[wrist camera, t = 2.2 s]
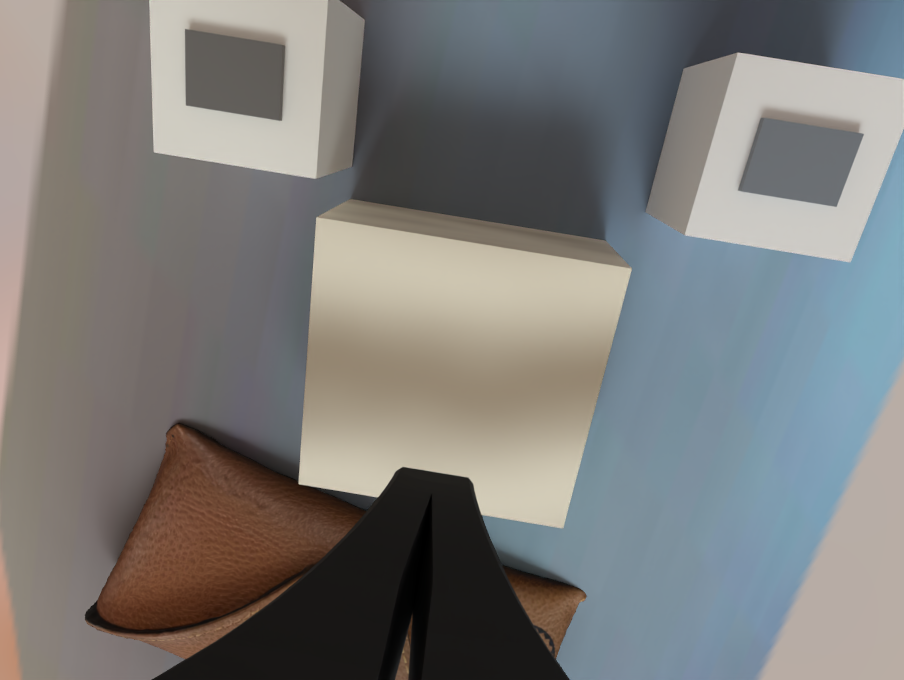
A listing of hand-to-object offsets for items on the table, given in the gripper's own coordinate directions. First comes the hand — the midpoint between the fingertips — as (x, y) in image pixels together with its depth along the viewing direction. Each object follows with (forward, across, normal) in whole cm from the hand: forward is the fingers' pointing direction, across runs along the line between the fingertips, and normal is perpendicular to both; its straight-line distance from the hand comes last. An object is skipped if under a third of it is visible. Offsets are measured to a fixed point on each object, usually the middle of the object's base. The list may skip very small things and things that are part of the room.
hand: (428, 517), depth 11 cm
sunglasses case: (+10, +3, +11) cm, 15 cm away
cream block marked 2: (+10, +6, -7) cm, 13 cm away
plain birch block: (+10, 0, 0) cm, 10 cm away
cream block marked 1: (+10, -7, -7) cm, 14 cm away
